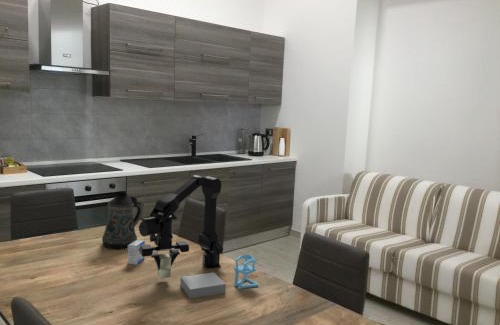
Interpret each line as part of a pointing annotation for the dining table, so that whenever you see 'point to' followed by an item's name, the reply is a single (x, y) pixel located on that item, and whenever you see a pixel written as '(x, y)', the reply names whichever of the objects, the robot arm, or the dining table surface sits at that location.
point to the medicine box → (135, 252)
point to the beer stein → (121, 222)
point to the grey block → (202, 285)
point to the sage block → (165, 266)
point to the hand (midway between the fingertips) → (164, 269)
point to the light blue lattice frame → (245, 271)
